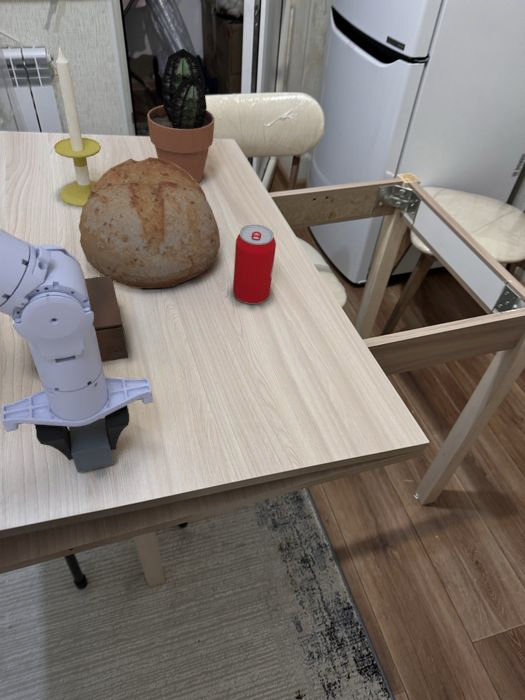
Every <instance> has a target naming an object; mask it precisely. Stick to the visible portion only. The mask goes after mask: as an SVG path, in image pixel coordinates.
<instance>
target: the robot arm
mask: <svg viewBox="0 0 525 700" xmlns="http://www.w3.org/2000/svg"><path fill="white" fill-rule="evenodd" d="M85 279H86V278H85V274H84V270H83V269H82V265H81V263H80V262H79V260H78V259H77V257H75V256H74V255H73V254H71V253H70V252H69V251H68V250H67V249H66V248H65V247H63V246H59V245H56V244H55V245H54V244H33V243H30V242H28V241H26V240H22V239H20V238H19V237H17V236H15V235H13V234H11V233H10V232H8V231H6V230H5V229H2V228H0V313H2V314H4V315H7V316H9V317H11V316H12V317H13V316H14V319H15V322H16V323H15V322H14V323H13V324H12V327H13V329H14V330H15V332H16V333H17V334H18V335H19V336H20V337H21V338H22V339H24V340H25V341H27V344H28V349H29V351H30V353H31V356H32V359H33V363H34V365H35V368H36V371H37V374H38V377H39V379H40V383H41V385H42V388H43V389H42V390H40V391H38V392H36V393H34V394H31V395H28V396H27V397H25V398H22V399H20V400H17V401H15V402H11V403H8V404H7V403H6V404H2V405H1V407H0V408H1V411H0V413H1V415H0V416H1V419H0V421H1V423H2V425H3V427H4V429H5V431H6V433H10V432H14V431H15V432H16V431H17V430H18V429H19V425H24V424H25V425H34V427H35V435H36V440H37V441H38V442H39V444H40V445H43V446H44V445H45V446H49V447H51V448H54V449H56V450H57V451H59V452H60V453H61V454H63V455H64V456H65V458H67V459H68V461H72V460H73V457H72V454H71V444H70V434H69V426H83V425H87V424H90V423H92V422H95V421H96V420H98V419H101V418H105V421H106V427H107V431H108V437H109V444H110V448H111V451H112V452H113V451H116V450H117V448H118V442H119V439H120V437H121V435H122V432H123V431H124V430H125V428H127V427H128V426H129V424H130V417H131V416H130V412H129V406H128V405H130V404H132V403H133V402H137V401H141V402H142V404H143V405H145V404H150V403H153V402H154V399H153V398H154V397H153V390H152V386H151V382H150V378H149V377H145V378H123V377H107V376H105V372H104V367H103V362H101V356H100V351H99V347H98V342H97V337H96V332H95V328H94V326H93V320H94V312H92V311H91V307H90V302H89V297H88V292H87V287H86V282H85ZM12 317H11V318H12ZM73 461H74V460H73Z"/></svg>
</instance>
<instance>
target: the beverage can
mask: <svg viewBox="0 0 525 700" xmlns="http://www.w3.org/2000/svg"><path fill="white" fill-rule="evenodd" d="M276 247H277V241H276V239H275V237H274V232H273V230H271V228H269V227H267V226H265V225H262V224H255V223H254V224H247V225H245V226H242V228H241V229H240V231H239V234H238V235H237V237H236V239H235V247H234V250H235V251H234V265H233V266H234V267H233V283H232V293H233V295H234V297H235V298H236V299H237V300H238V301H240V302H242V303H245V304H249V305H256V304H260V303H263V302H265V301H266V300H268V299H269V297H270V295H271V289H272V280H273V270H274V265H275V256H276Z"/></svg>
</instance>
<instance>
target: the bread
mask: <svg viewBox="0 0 525 700" xmlns="http://www.w3.org/2000/svg"><path fill="white" fill-rule="evenodd" d="M95 182H96V183H95V185H94V186H93V188H92V189H91V192H90V194H89V196H88V200H87V202H86V203H85V204H84V205H83V206H82V209H81V213H80V216H79V223H78V231H79V233H80V239H79V244H80V247H81V250H82V252H83V254H84V257H85V258H86V261H87V262H88V263H89V264H90V265H91V267H92V268H93V269H94V270H95V271H96V272H98V273H100V274H101V275H103V276H110V275H111V277H112V280H113V282H117V283H119V284H122V285H124V286H129V287H133V288H134V287H135V288H142V289H144V288H145V289H157V288H158V289H159V288H160V289H161V288H171V287H173V286H176V285H179V284H181V283H183V282H186V281H188V280H191V279H192V278H194V277H197V276H198V275H201V274H203V273H204V272H206V271H207V270H208V269H209V268H210V267H212V265H213V264H214V262H215V260H216V258H217V256H218V254H219V250H220V247H221V237H220V229H219V226H218V223H217V220H216V218H215V215H214V212H213V209H212V207H211V205H210V203H209V201H208V199H207V197H206V193H205V192H204V189H203V187H202V186H201V185H200V184H199V183H197V182H196V181H195V179H194V178H193V177H192V176H191V175H190V174H189V173H188V172H186V171H185V170H184V169H182V168H181V167H179V166H178V165H176V164H174V163H172V162H170V161H167V160H164V159H161V158H158V157H150V156H149V157H147V158H145V159H142V160H134V159H133V158H129V159H128V160H124V161H122V162H120V163H119V164H116V165H114V166H112V167H110V168H109V169H108V170H107V171H105V172H104V173H103V174H102V175H101V177H100V178H99V179H98V180H97V181H95Z"/></svg>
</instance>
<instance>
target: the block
mask: <svg viewBox="0 0 525 700" xmlns="http://www.w3.org/2000/svg"><path fill="white" fill-rule="evenodd" d="M68 430H69V434H70V444H71V454H72V457H73V463H74V467H75V469H76V472H77V473H78V474H79V473H83V472H88V471H92V470H96V469H99V468H104V467H109V466H113V465H114V458H113V450H112V451H111V448H110V444H109V437H108V431H107V427H106V421H105V417H102V418H100V419H98V420H96V421H95V422H92V423H90V424H87V425H83V426H68Z"/></svg>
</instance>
